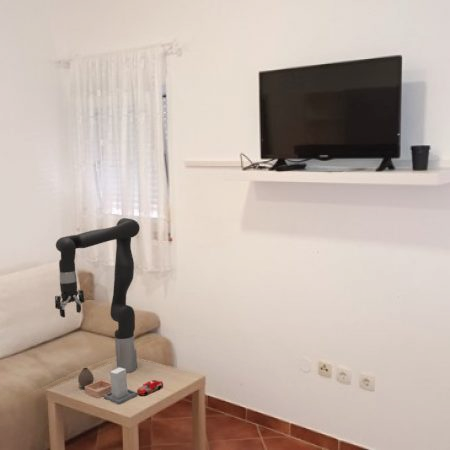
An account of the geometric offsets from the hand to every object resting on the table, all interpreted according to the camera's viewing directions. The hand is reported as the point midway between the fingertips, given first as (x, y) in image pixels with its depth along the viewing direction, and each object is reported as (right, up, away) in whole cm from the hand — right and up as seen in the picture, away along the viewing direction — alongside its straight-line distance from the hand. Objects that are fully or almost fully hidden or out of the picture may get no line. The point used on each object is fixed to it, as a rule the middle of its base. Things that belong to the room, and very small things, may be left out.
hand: (70, 314), depth 263 cm
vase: (+7, -34, 0) cm, 34 cm away
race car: (+38, -34, -7) cm, 51 cm away
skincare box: (+25, -34, -13) cm, 44 cm away
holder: (+15, -34, -7) cm, 38 cm away
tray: (+26, -34, -13) cm, 45 cm away
